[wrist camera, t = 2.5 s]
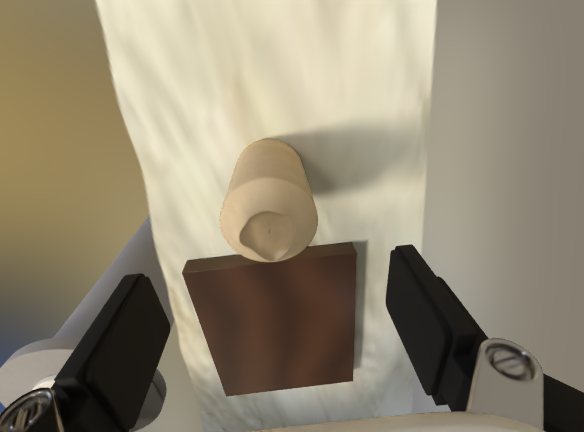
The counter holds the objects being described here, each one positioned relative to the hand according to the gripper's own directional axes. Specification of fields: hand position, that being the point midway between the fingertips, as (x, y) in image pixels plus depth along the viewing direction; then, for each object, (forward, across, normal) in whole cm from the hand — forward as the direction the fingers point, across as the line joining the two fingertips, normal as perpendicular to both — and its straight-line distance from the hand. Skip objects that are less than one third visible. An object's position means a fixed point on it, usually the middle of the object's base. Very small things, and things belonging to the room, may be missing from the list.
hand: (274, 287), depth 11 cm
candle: (+14, 0, 0) cm, 14 cm away
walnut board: (+14, +1, +18) cm, 23 cm away
